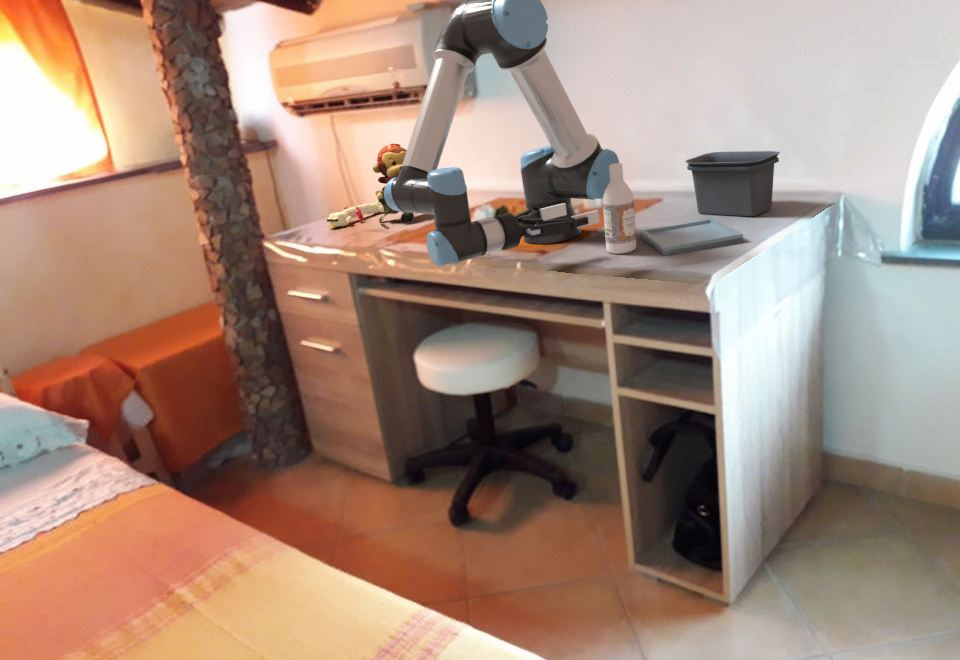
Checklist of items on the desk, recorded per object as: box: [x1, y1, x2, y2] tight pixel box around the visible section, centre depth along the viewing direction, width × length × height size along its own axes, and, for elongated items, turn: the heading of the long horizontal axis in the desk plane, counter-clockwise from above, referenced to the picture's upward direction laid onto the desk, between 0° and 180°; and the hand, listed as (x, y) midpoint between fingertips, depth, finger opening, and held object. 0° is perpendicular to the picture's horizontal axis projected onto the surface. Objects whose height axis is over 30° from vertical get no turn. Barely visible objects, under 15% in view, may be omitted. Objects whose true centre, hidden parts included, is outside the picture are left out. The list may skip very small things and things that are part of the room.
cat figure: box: [326, 190, 384, 229], centre depth 263 cm, size 10×9×25 cm
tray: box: [640, 217, 744, 256], centre depth 182 cm, size 18×18×2 cm
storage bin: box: [685, 150, 781, 217], centre depth 198 cm, size 21×16×14 cm
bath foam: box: [602, 162, 637, 255], centre depth 179 cm, size 7×7×20 cm
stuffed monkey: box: [372, 143, 418, 224], centre depth 250 cm, size 15×17×25 cm
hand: (581, 212), depth 175 cm, fingers open, 13 cm apart
